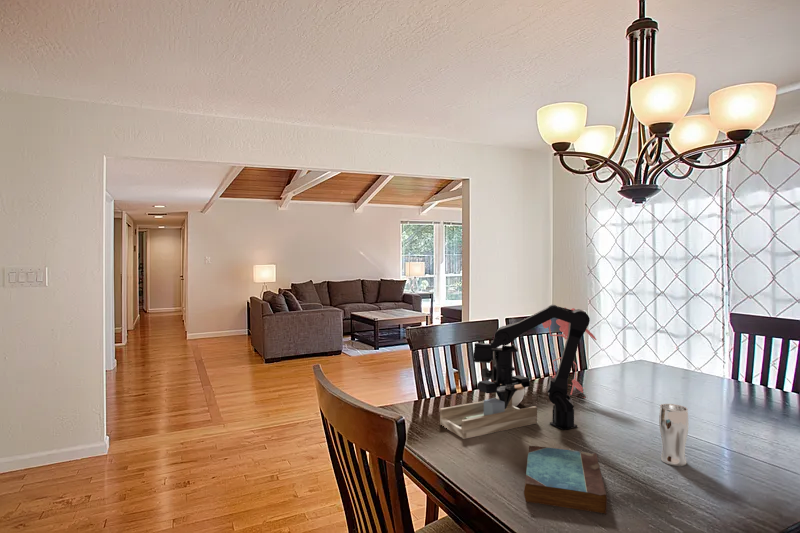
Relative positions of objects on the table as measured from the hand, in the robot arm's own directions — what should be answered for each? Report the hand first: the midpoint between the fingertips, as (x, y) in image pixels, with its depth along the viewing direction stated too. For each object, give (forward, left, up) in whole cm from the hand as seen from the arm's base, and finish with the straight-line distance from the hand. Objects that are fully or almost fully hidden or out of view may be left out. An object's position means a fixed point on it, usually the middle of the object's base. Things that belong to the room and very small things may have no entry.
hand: (504, 408), depth 162 cm
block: (0, +4, -2) cm, 5 cm away
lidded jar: (+14, -14, -4) cm, 20 cm away
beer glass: (-47, -20, -4) cm, 51 cm away
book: (-43, +17, -5) cm, 46 cm away
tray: (0, +7, -4) cm, 8 cm away
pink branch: (+17, -49, -4) cm, 52 cm away
